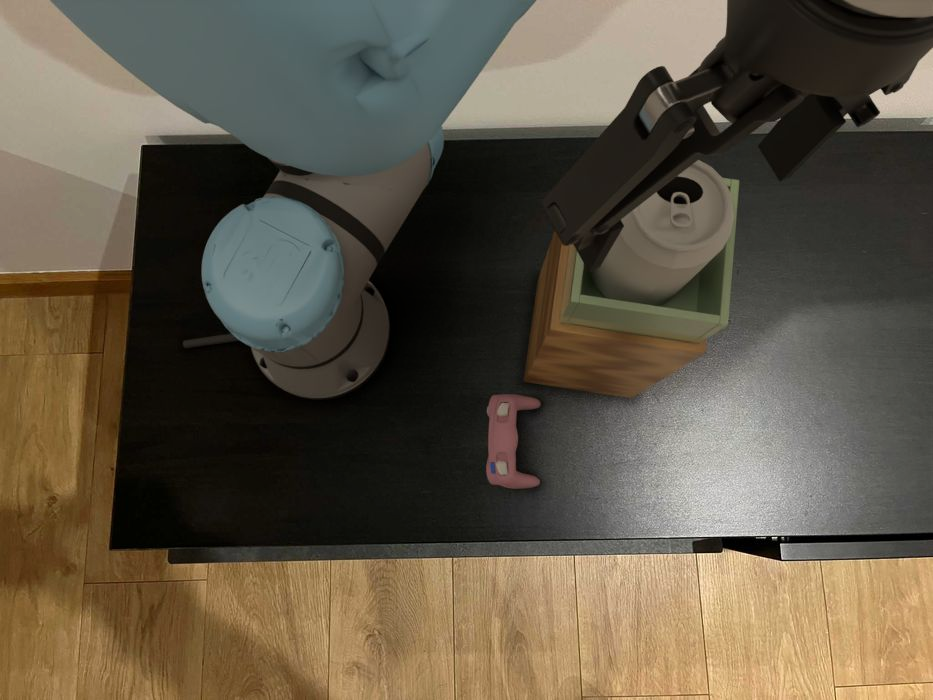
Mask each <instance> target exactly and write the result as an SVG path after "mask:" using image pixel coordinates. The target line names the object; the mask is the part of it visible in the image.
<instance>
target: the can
mask: <svg viewBox="0 0 933 700" xmlns="http://www.w3.org/2000/svg"><path fill="white" fill-rule="evenodd" d="M723 178H724V177H722V175H720V174H719V173H718V172H717V171H716V170H715V169H714V168H713V167H712V166H711V165H709V164H707V163H706V162H703V161H701V159H699V160H697V161H696V162H695V163H694V164H692V165H691V166H690V167H688V168H687V169H686V170H684V171H683V172H682V173H681V174H679V175H678V176H677V177H675V178H674V179H673V180H672V181H670V182H669V183H668V184H666V185H665V186H664V187H662V188H661V189H660V190H659V191H657V192H656V193H655V194H653V195H652V196H651V197H649V198H648V199H647V200H646V201H644V202H643V203H642V204H640V205H639V206H638V207H636V208H635V209H634V210H633V211H631V212H630V213H629V214H627V215H626V216H625V217H624V218H622V219H621V221H622V223H623V225H624V227H623V229H622V231H621V232H620V234H619V236H618V237H617V239H616V241H615V242H614V244H613V246H612V248H611V249H610V251H609V253H608V254H607V256H606V258H605V259H604V261H603V263H602V264H601V266H600V267H599V268H597V269H595V270H593V271H591V272H590V275H591V277H592V279H593V281H594V283H595V285H596V287H597V288H598V289H599V290H600V292H601V293H602V294H603V295H604V296H605V297H606V298H607V299H613V300H620V301H627V302H633V303H640V304H646V305H653V306H659V305H662V304H664V303H666V302H667V301H668V300H670V299H671V298H672V297H673V296H674V295H675V294H677V293H678V292H679V291H680V290H681V289H682V288H683V287H684V286H685V285H686V284H687V283H688V282H689V281H690V280H691V279H692V278H693V277H694V276H695V275H696V274H697V273H698V272H699V271H700V270H701V269H702V268H703V267H704V266H705V265H706V264H708V263H709V262H710V261H711V260H712V259H713V258H714V257H715V256H716V255H717V254H718V253H719V252H720V251H721V250H722V249H723V247H724V245H725V243H726V242H727V240H728V238H729V237H730V235H731V230H732V225H733V219H734V215H733V209H732V201H731V195H730V191H729V189H728V187H727V185H726V183H725V181H724V179H723Z"/></svg>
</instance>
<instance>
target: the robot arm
mask: <svg viewBox="0 0 933 700" xmlns="http://www.w3.org/2000/svg"><path fill="white" fill-rule="evenodd" d="M49 1H50V2H51V3H52V5H54V6H55V8H57V9H58V11H60V12H61V13H62V14H63V15H64V16H65V17H66V18H67V19H68V20H69V21H70V22H71V23H72V24H73V25H74V26H75V27H77V29H79V31H81V33H82V34H83V35H85V36H86V37H87V38H88V39H89V40H90V41H91V42H93V43H94V44H95V45H96V46H97V47H98V48H99V49H101V50H102V51H103V52H104V53H105V54H107V55H108V56H109V57H110V58H111V59H113V60H114V61H115V62H117V63H118V64H119V65H120V66H121V67H123V68H124V70H126V71H127V72H129V73H130V74H131V75H132V76H134V77H135V78H136V79H137V80H139V81H140V82H141V83H143V84H144V85H145V86H147V87H148V88H150V89H151V91H152V90H153V91H154V92H155V93H156V94H157V95H159V96H161V97H162V98H164V99H165V100H166V101H167V102H169V103H170V104H172V105H173V106H175V107H176V108H178V109H180V110H182V111H183V112H185V113H187V114H188V115H190V116H192V117H193V118H195V119H196V120H197V121H200V122H202V123H203V124H211V125H214V126H217V127H219V128H220V129H222V130H223V131H225V132H226V133H228V134H230V135H231V136H233V137H234V138H236V139H237V140H239V141H240V142H241V143H242V144H244V145H245V146H247V147H248V148H249V149H250V150H252V151H254V152H256V153H257V154H259V155H261V156H264V157H265V158H267V159H268V160H269V161H270V162H271V163H272V164H273V165H274V166H275V167H276V168H277V169H278V170H279V172H278V174H277V175H276V177H275V178H274V180H273V181H272V182H271V184H270V185H269V187H268V189H267V190H266V192H265V194H264V195H263V197H259V198H255V200H254V201H253V202H250V203H248V204H245V203H242V204H240V205H238V206H237V207H235V208H233V209H232V210H231V211H230V212H228V213H227V214H226V215H225V216H224V217H223V218H222V219H221V220H220V221H218V223H217V225H216V226H215V227H214V229H213V230H212V232H211V234H210V236H209V238H208V239H207V242H206V245H205V247H204V251H203V255H202V260H201V282H202V283H201V284H202V287H203V290H204V294H205V298H206V300H207V302H208V304H209V306H210V308H211V309H212V311H213V313H214V314H215V315H216V317H217V318H218V319H219V321H221V323H222V324H223V326H224V327H225V329H227V330H228V331H229V333H226V334H218V335H211V336H205V337H197V338H191V339H185V340H183V341H182V346H183V348H184V349H193V348H198V347H199V348H200V347H206V346H213V345H220V344H227V343H233V342H242V343H243V344H244V345H246V346H249V347H250V349H251V353H252V355H253V358H254V361H255V363H256V365H257V366H258V368H259V369H260V371H261V372H262V373H263V375H264V376H265V377H266V378H267V379H268V380H269V381H270V382H271V383H272V384H274V385H275V386H277V387H278V388H279V389H281V390H283V391H284V392H287V393H288V394H290V395H292V396H295V397H298V398H302V399H305V400H313V401H325V400H332V399H333V400H334V399H338V398H341V397H345V396H346V395H349V394H351V393H353V392H355V391H357V390H358V389H360V388H362V387H363V386H364V385H365V384H366V383H368V381H370V380H371V379H372V378H373V377H374V375H376V373H377V372H378V370H379V369H380V367H381V366H382V364H383V363H384V360H385V358H386V355H387V353H388V350H389V346H390V343H391V330H392V329H391V320H390V316H389V312H388V309H387V305H386V303H385V300H384V299H383V297H382V295H381V293H380V291H379V290H378V289H377V287H376V286H375V285H374V284H373V283H372V282H371V280H370V278H371V277H372V275H373V273H374V271H375V270H376V268H377V267H378V264H380V261H381V260H382V257H383V256H384V254H385V253H386V252H387V250H388V248H389V247H390V245H391V243H392V242H393V240H394V239H395V237H396V235H397V234H398V232H399V230H400V229H401V227H402V226H403V224H404V222H405V221H406V219H407V218H408V215H409V214H410V212H411V211H412V209H413V207H414V206H415V204H416V202H417V201H418V199H419V198H420V196H421V195H422V193H423V192H424V190H425V189H426V187H427V186H428V185H429V183H430V181H431V179H432V177H433V175H434V170H435V168H436V167H437V164H438V162H439V160H440V158H441V157H442V154H443V150H444V147H445V145H444V144H445V137H444V130H443V125H444V123H445V122H446V121H447V120H448V119H449V117H450V115H451V114H452V113H453V111H454V110H455V109H456V108H457V106H458V104H459V103H460V102H461V101H462V99H463V98H464V97H465V95H466V94H467V92H468V91H469V89H470V88H471V87H472V85H473V84H474V83H475V81H476V80H477V78H478V77H479V75H480V74H481V72H483V70H484V68H485V67H486V65H487V64H488V63H489V61H490V59H491V58H492V57H493V55H494V54H495V53H496V51H497V50H498V48H499V47H500V45H501V44H502V42H503V41H504V40H505V39H506V37H507V35H509V33H510V31H511V30H512V28H513V27H514V26H515V24H516V23H517V22H518V21H519V20H520V19H521V18H522V17H524V15H526V13H527V12H528V11H529V10H530V9H531V8H532V7H533V5H534V4H535V3H536V2H537V0H49ZM725 24H726V25H725V35H724V36H723V37H722V38H721V39H720V40H719V41H718V42H717V44H716V45H715V47H714V48H713V49H712V50H711V51H710V52H709V53H708V54H707V55H706V56H705V57H704V59H703V60H702V61H701V63H700V65H699V66H698V67H696V69H695V70H693V72H691V73H690V74H689V75H688V76H685V77H684V78H683V77H682V78H680V79H678V80H676V81H674V79H673V78H672V76H671V75H670V73H669V71H668V70H667V68H666V66H664V65H660V66H656V67H655V68H653V69H651V70H650V71H648V72H646V73H645V74H644V75H643V76H642V77H641V78H640V79H639V81H638V82H637V84H636V86H635V87H634V90H633V91H632V93H631V95H630V97H629V99H628V101H627V102H626V104H625V106H624V107H623V109H622V110H621V111H620V112H619V113H618V114H617V116H616V117H615V118H614V119H613V120H612V121H611V123H609V125H608V126H607V127H606V128H605V129H604V131H602V132H601V134H600V135H598V137H597V138H596V139H595V140H594V141H593V143H592V144H591V145H590V146H589V147H588V148H587V150H586V151H585V152H584V153H583V154H582V155H581V156H580V157H579V158H578V160H576V162H575V163H574V164H573V165H572V166H571V167H570V169H569V170H568V171H567V172H566V173H565V175H564V176H563V177H562V178H561V179H560V180H559V181H558V182H557V183H556V185H555V186H554V187H553V188H552V189H550V192H549V193H548V194H547V195H546V196H545V197H544V198H543V199H542V201H541V202H540V206H541V208H542V210H543V212H544V213H545V215H546V217H547V219H548V220H549V222H550V224H551V226H552V228H553V231H556V233H557V235H558V237H559V239H560V240H561V242H562V244H563V246H569V245H570V244H571V245H572V244H573V245H574V246H575V248H576V250H577V252H578V254H579V255H580V257H581V259H582V261H583V263H584V265H585V266H586V268H587V270H588V272H591V271H593V270H595V269H597V268H599V267H600V266H601V264H602V263H603V261H604V259H605V258H606V256H607V254H608V253H609V251H610V249H611V248H612V246H613V244H614V242H615V241H616V239H617V237H618V236H619V234H620V232H621V231H622V229H623V227H624V225H623V223H622V221H621V219H622V218H624V217H625V216H626V215H627V214H629V213H630V212H631V211H633V210H634V209H635V208H636V207H638V206H639V205H640V204H642V203H643V202H644V201H646V200H647V199H648V198H649V197H651V196H652V195H653V194H655V193H656V192H657V191H659V190H660V189H661V188H662V187H664V186H665V185H666V184H668V183H669V182H670V181H672V180H673V179H674V178H675V177H677V176H678V175H679V174H681V173H682V172H683V171H684V170H686V169H687V168H688V167H690V166H691V165H692V164H694V163H695V162H696V161H697V160H701V158H703V157H704V156H722V155H725V154H726V153H727V152H728V151H730V150H731V149H733V148H734V147H735V146H736V145H738V144H739V143H740V142H742V141H743V140H744V139H745V138H747V137H748V136H750V135H751V134H752V133H754V132H755V131H757V130H758V129H759V128H760V127H762V126H764V124H767V123H773V122H776V121H777V122H776V123H775V125H774V126H773V127H772V128H771V129H770V131H769V132H768V133H767V134H766V135H765V137H763V138H762V140H761V141H760V143H759V144H758V145H757V148H758V149H759V151H760V153H761V154H762V156H763V157H764V159H765V161H766V163H767V164H768V165H769V167H770V169H771V170H772V172H773V173H774V175H775V177H776V178H777V180H778V181H779V182H783V181H785V180H786V179H787V180H788V179H789V178H791V177H792V176H793V175H794V174H795V173H796V172H797V171H798V170H800V168H801V167H802V166H803V165H804V164H805V163H806V162H807V161H808V160H809V159H810V158H811V157H812V156H813V155H814V154H815V153H817V152H818V150H819V149H820V148H821V147H823V146H824V144H825V143H827V141H829V139H830V138H831V137H832V136H833V135H835V134H836V133H837V132H838V130H840V129H841V128H842V127H843V126H844V125H845V124H846V123H847V121H846V119H845V117H846V115H848V116H849V117H850V119H851V121H852V122H853V123H854V124H855V126H856V128H861V127H862V126H865V125H866V124H869V122H871V121H873V120H874V119H876V118H877V117H878V116H880V114H881V111H880V110H879V108H878V107H877V105H876V104H875V102H874V101H873V99H872V97H871V96H870V95H872V94H874V93H876V92H877V91H879V90H881V91H882V93H883V95H884V96H888V95H890V94H895V93H897V92H899V91H900V90H901V89H903V88H904V86H905V84H907V83H908V82H909V80H910V79H911V77H912V75H913V74H914V71H915V70H916V68H917V65H918V64H919V62H920V61H921V60H922V59H923V58H924V57H925V56H926V55H927V54H928V53H929V52H931V50H933V0H726V23H725ZM709 103H710V104H711V105H712V107H713V108H714V109H715V110H717V112H718V113H719V114H720V115H721V116H722V117H724V119H725V120H727V121H728V122H729V123H730V125H729V126H727V127H726V128H725V129H723V130H722V131H720V130H719V128H718V127H717V125H716V124H715V122H714V120H713V119H712V117H711V115H710V114H709V112H708V111H707V109H706V107H705V106H706V105H707V104H709Z"/></svg>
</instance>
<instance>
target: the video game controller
mask: <svg viewBox="0 0 933 700" xmlns="http://www.w3.org/2000/svg"><path fill="white" fill-rule="evenodd" d="M541 406H542V404H541V401H540V400H539V399H538V398H536V397H533V396H528V395H527V396H526V395H520V394H516V393H515V394H514V393H501V394H493V395H491V397H490V398H489V401H488V405H487V407H486V414H487V416H488V418H489V420H488V421H489V422H488V434H487V435H488V436H487V437H488V438H487V439H488V440H487V448H488V449H487V451H488V457H487V460H486V466H485V467H486V468H485V470H486V471H485V472H486V478H487V481H488V482H489V483H490V485H493V486H501V487H504V488H507V489H514V490H519V489H532V488H535V487H538V486H539V485H540V484H541V480H540V479H539V478H538V476H537V477H536V476H534V475H533V474H527V473H522V472H520V471H518V470H517V464H516V463H517V457H516V452H517V448H518V444H519V434H518V428H517V416H518V415H517V413H518V411H528V410H529V411H530V410H535V409H539V408H540V407H541Z"/></svg>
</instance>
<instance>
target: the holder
mask: <svg viewBox="0 0 933 700" xmlns="http://www.w3.org/2000/svg"><path fill="white" fill-rule="evenodd" d="M722 178H723V179H724V181H725V183H726V185H727V187H728V189H729V191H730V195H731V201H732V209H733V215H734V219H733V225H732V230H731V235H730V237H729V238H728V240H727V242H726V243H725V245H724V247H723V249H722V250H721V251H720V252H719V253H718V254H717V255H716V256H715V257H714V258H713V259H712V260H711V261H710V262H709V263H708V264H706V265H705V266H704V267H703V268H702V269H701V270H700V271H699V272H698V273H697V274H696V275H695V276H694V277H693V278H692V279H691V280H690V281H689V282H688V283H687V284H686V285H685V286H684V287H683V288H682V289H681V290H680V291H679V292H678V293H677V294H675V295H674V296H673V297H672V298H671V299H670V300H668V301H667V302H666V303H664V304H662V305H659V306H653V305H646V304H640V303H633V302H627V301H620V300H613V299H607V298H606V297H605V296H604V295H603V294H602V293H601V292H600V290H599V289H598V288H597V287H596V285H595V283H594V281H593V279H592V277H591V275H590V272H588V270H587V268H586V266H585V265H584V263H583V261H582V259H581V257H580V255H579V254H578V252H577V250H576V248H575V246H574V245H573V244H572V245H571V244H570V245H569V250H568V258H567V266H566V273H565V281H564V288H563V296H562V303H561V311H560V318H559V323H562V324H569V325H575V326H582V327H588V328H595V329H602V330H608V331H615V332H621V333H628V334H634V335H641V336H648V337H654V338H661V339H667V340H674V341H680V342H687V343H694V344H700V343H701V342H703V341H704V340H706V339H707V340H708V339H709V338H711V337H712V336H713V335H715V334H716V333H718V332H719V331H721V330H723V329H724V328H726V327H727V326H728V325H729V318H730V317H729V316H730V304H731V303H730V302H731V293H732V292H731V291H732V280H733V279H732V278H733V267H734V265H733V264H734V254H735V253H734V252H735V240H736V229H737V217H738V216H737V215H738V205H739V204H738V203H739V191H740V190H739V189H740V180H739V179H734V178H726V177H722Z"/></svg>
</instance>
